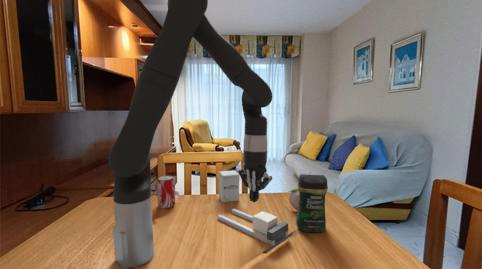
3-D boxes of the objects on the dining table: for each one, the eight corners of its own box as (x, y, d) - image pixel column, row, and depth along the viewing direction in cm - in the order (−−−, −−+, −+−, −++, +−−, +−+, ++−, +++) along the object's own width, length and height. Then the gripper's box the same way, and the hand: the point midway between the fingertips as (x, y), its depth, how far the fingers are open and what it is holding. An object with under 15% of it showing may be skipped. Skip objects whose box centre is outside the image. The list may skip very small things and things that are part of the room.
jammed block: (252, 232, 81) (252, 216, 80) (262, 226, 85) (262, 211, 84) (267, 239, 77) (267, 222, 76) (277, 233, 81) (277, 216, 80)
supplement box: (222, 205, 105) (221, 175, 103) (218, 198, 112) (218, 170, 110) (239, 203, 107) (239, 174, 105) (235, 197, 114) (235, 169, 112)
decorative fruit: (292, 217, 94) (293, 191, 93) (286, 207, 102) (286, 184, 101) (317, 215, 96) (318, 190, 94) (308, 206, 104) (309, 183, 102)
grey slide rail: (211, 225, 88) (211, 211, 88) (239, 212, 98) (239, 200, 98) (266, 253, 72) (266, 237, 71) (292, 234, 82) (293, 220, 81)
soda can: (173, 209, 101) (171, 180, 100) (155, 209, 101) (153, 180, 100) (177, 202, 108) (176, 175, 107) (161, 202, 108) (159, 175, 107)
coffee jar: (297, 233, 83) (299, 178, 80) (295, 221, 91) (296, 171, 88) (328, 234, 82) (330, 179, 80) (322, 223, 90) (325, 172, 87)
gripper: (232, 147, 82) (231, 198, 84) (264, 153, 73) (262, 210, 75) (247, 144, 88) (246, 192, 90) (279, 150, 79) (277, 203, 81)
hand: (253, 200), depth 83 cm, fingers closed
